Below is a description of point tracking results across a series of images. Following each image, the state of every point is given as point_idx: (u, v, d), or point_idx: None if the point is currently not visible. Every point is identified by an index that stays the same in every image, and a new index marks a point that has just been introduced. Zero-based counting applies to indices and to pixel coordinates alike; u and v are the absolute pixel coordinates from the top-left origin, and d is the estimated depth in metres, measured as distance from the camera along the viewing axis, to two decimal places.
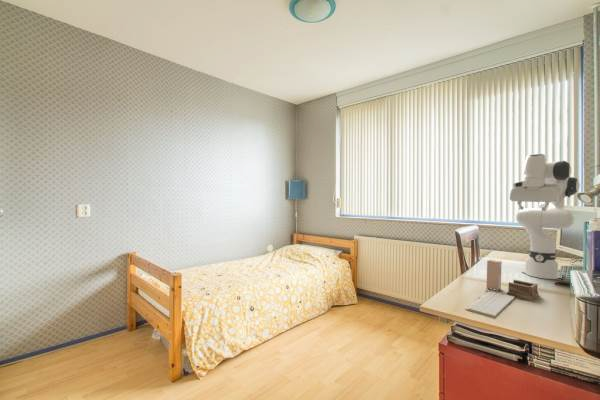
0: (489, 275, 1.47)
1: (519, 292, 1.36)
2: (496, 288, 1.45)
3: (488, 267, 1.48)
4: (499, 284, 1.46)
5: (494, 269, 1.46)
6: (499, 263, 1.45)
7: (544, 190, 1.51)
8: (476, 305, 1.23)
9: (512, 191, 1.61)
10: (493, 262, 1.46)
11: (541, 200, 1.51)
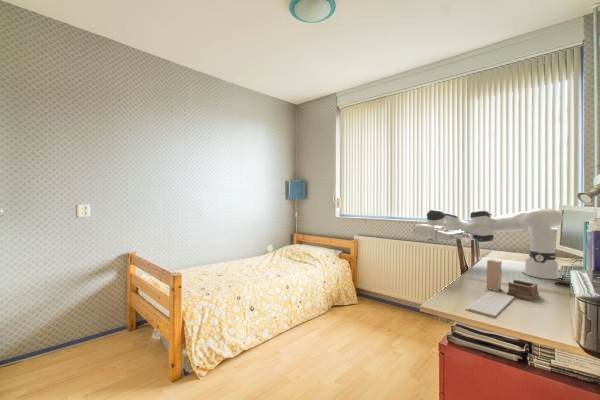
0: (489, 275, 1.47)
1: (519, 292, 1.36)
2: (496, 288, 1.45)
3: (488, 267, 1.48)
4: (499, 284, 1.46)
5: (494, 269, 1.46)
6: (499, 263, 1.45)
7: (451, 230, 1.70)
8: (476, 305, 1.23)
9: (440, 231, 1.61)
10: (493, 262, 1.46)
11: (459, 232, 1.65)
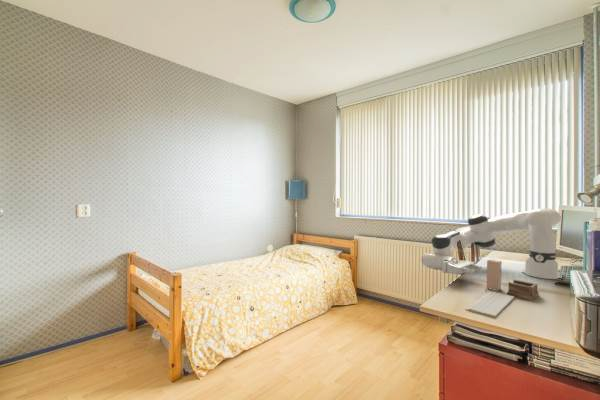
0: (489, 275, 1.47)
1: (519, 292, 1.36)
2: (496, 288, 1.45)
3: (488, 267, 1.48)
4: (499, 284, 1.46)
5: (494, 269, 1.46)
6: (499, 263, 1.45)
7: (460, 261, 1.64)
8: (476, 305, 1.23)
9: (450, 264, 1.55)
10: (493, 262, 1.46)
11: (469, 263, 1.59)
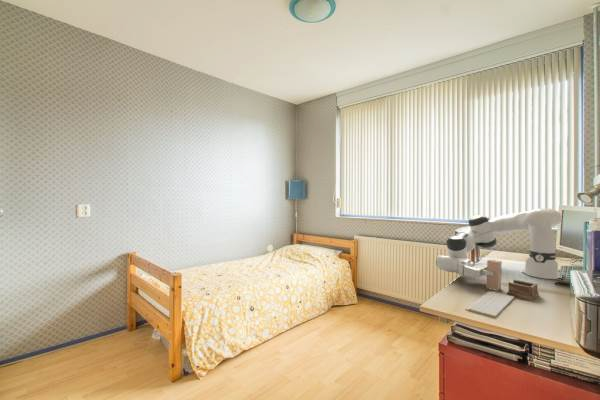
0: (489, 275, 1.47)
1: (519, 292, 1.36)
2: (496, 288, 1.45)
3: (488, 267, 1.48)
4: (499, 284, 1.46)
5: (494, 269, 1.46)
6: (499, 263, 1.45)
7: (477, 263, 1.58)
8: (476, 305, 1.23)
9: (468, 266, 1.49)
10: (493, 262, 1.46)
11: None
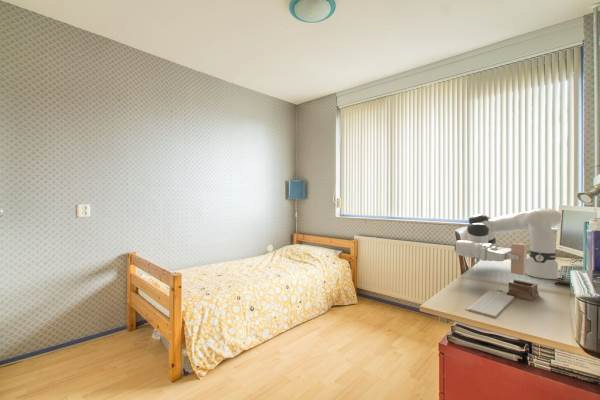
0: (514, 259, 1.39)
1: (519, 292, 1.36)
2: (521, 273, 1.37)
3: (512, 251, 1.39)
4: (524, 268, 1.38)
5: (519, 252, 1.37)
6: (525, 246, 1.37)
7: (499, 248, 1.50)
8: (476, 305, 1.23)
9: (491, 250, 1.41)
10: (518, 245, 1.38)
11: (510, 250, 1.45)
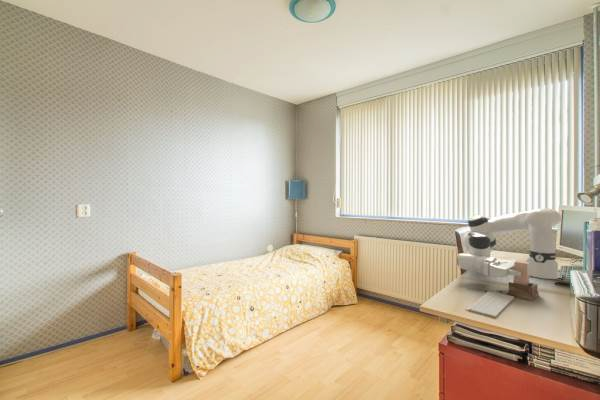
0: (517, 277, 1.38)
1: (519, 292, 1.36)
2: None
3: (515, 269, 1.39)
4: None
5: (522, 271, 1.37)
6: (528, 265, 1.36)
7: (502, 262, 1.49)
8: (476, 305, 1.23)
9: (494, 265, 1.40)
10: (521, 264, 1.37)
11: (513, 265, 1.44)
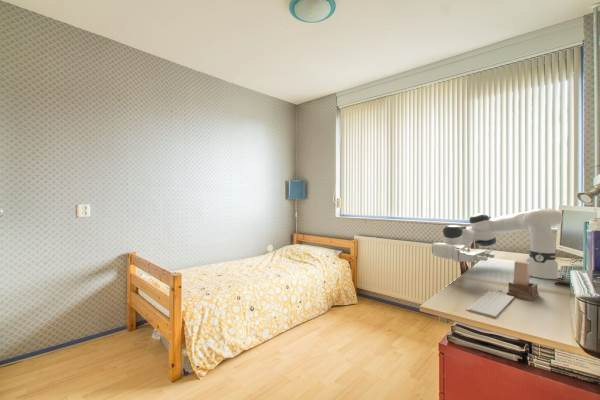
0: (517, 277, 1.38)
1: (519, 292, 1.36)
2: None
3: (516, 269, 1.39)
4: None
5: (522, 271, 1.37)
6: (528, 265, 1.36)
7: (472, 249, 1.60)
8: (476, 306, 1.22)
9: (462, 252, 1.51)
10: (521, 264, 1.37)
11: (482, 251, 1.55)
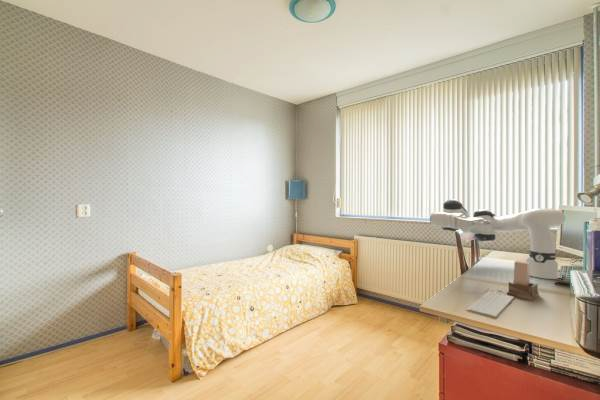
0: (517, 277, 1.38)
1: (519, 292, 1.36)
2: None
3: (516, 269, 1.39)
4: None
5: (522, 271, 1.37)
6: (528, 265, 1.36)
7: (469, 217, 1.64)
8: (476, 306, 1.22)
9: (460, 218, 1.55)
10: (521, 264, 1.37)
11: (479, 218, 1.60)
